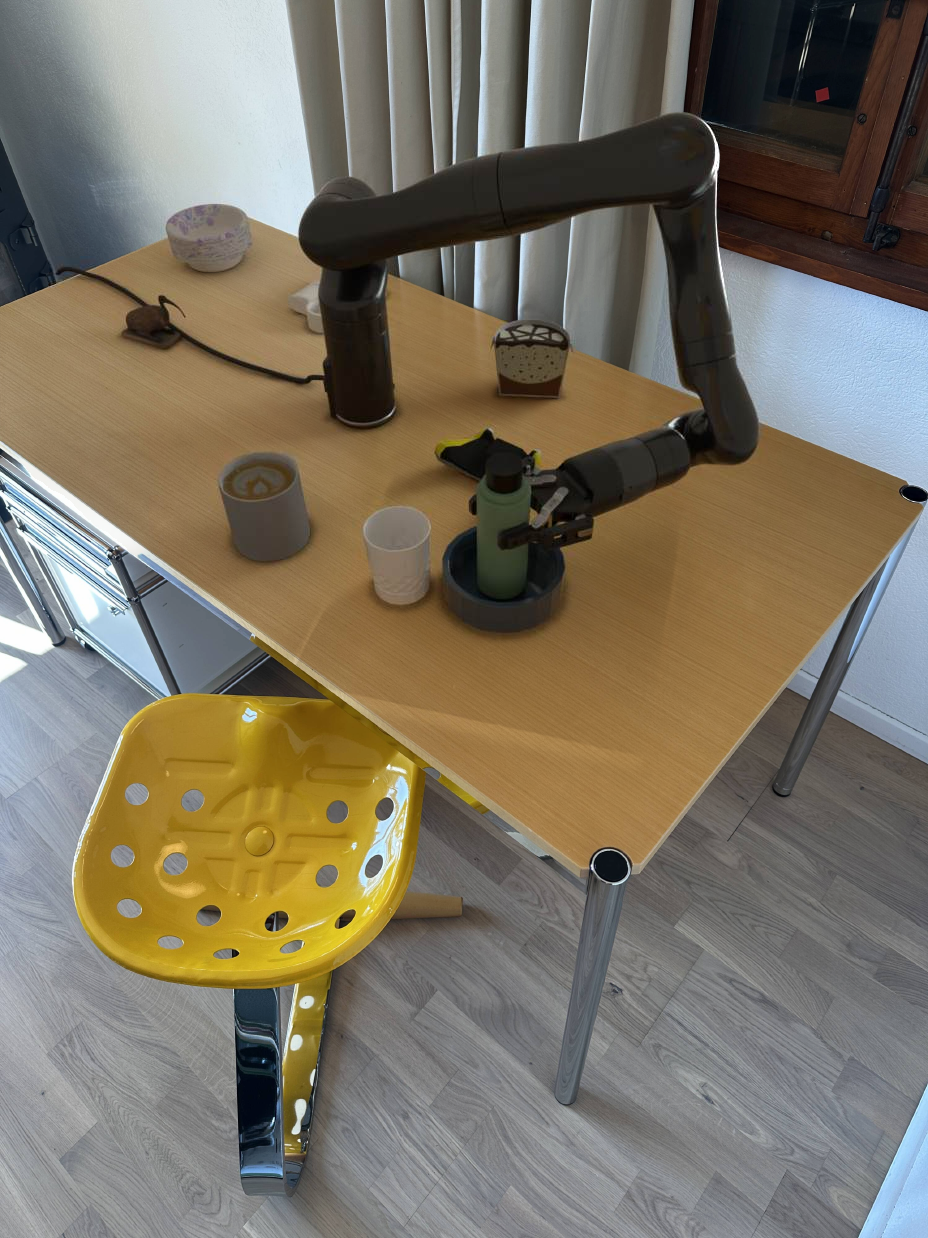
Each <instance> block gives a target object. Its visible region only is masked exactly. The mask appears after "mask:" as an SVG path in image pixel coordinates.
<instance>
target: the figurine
mask: <svg viewBox="0 0 928 1238" xmlns="http://www.w3.org/2000/svg"><path fill="white" fill-rule="evenodd" d="M157 300H158V301H157V302H158V304H159V305H158V304H157V305H156V304H148V305H149V306H144V307H143V306H141V307H137V308H135V309H132V310H130V311H129V312H127V314H126V315H125V323H126V327H127V328H126V329H124V330H122V331H121V332H120V333H121V336H122V337H124V338H127V339H129V340H133V341H136V342H140V343H144V344H147V345H151V346H153V347H157V348H160V349H163V350H168V349H169V348H171V347H172V346H173V345H175V344H176V343H177V342H179V341H180V340H182V339H184V338H183V337H182V336H181V334H180V333H179V332H176V330H173V329H170V328H166V327H168V326H167V325H168V324H169V322H170V321H171V319H170V312H169V310H168V309H167V307H166V306H165V304H168V305H170V306H173V307H174V308H176V309H178V311H179V312H180V313H181V314H182V316H183V318H186V315H185V313H184V312H183V310H182V309H181V308H180V306H178V305H177V304H176V303H175V302H174V301H172V300H170V299H169V298H167V296H166V295H163V294H159V295H158V298H157Z"/></svg>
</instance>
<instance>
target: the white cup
mask: <svg viewBox="0 0 928 1238" xmlns="http://www.w3.org/2000/svg"><path fill="white" fill-rule="evenodd" d="M431 528H432V527H431V522H430V519H429V518H428V516H427V515H426V514H425V513H423V512H422V511H420V510H419V509H416V508H414V507H411V506H405V505H393V506H387V507H384V508H383V507H382V508H381V509H378V510H377V511H375V512H373V513H371V514H370V515H369V516H368V517H367V519H365V521H364V523H363V525H362V536H363V541H364V545H365V551H366V556H367V562H368V565H369V570H370V574H371V576H372V580H373V585H374V591H375V593H376V594H377V595H378V597H379V598H380V600H381V601H384V602H387V603H388V604H391V605H399V606H404V605H409V604H412V603H416V602H418V601H419V600H421V599H422V598H424V597H425V596H426V594H427V592H428V591H429V589H430V573H431V561H432V560H431V559H432V558H431V557H432V552H431V551H432V548H431V547H432V546H431V545H432V543H431V542H432V541H431V540H432V539H431V535H432V533H431V532H432V531H431V530H432V529H431Z"/></svg>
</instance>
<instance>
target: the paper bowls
mask: <svg viewBox="0 0 928 1238" xmlns="http://www.w3.org/2000/svg"><path fill="white" fill-rule="evenodd" d="M165 232H166V235H167V239H168V243H169V247H170V249H171V253H172V255H173V256H174V257H175V258H176V259H177V260H178V261H180V262H183V263H186V264H188V266H189V267H190V268H192V269H193V270H196V271H199V272H203V273H219V272H225V271H227V270H229V269H232V268H234V267H236V266H237V265H238V264H239V263H240V262H241V261H242V259H243V257H244V254H246V253H247V252H248V251H249V250H250V249H251V247H252V245H253V236H252V231H251V226H250V222H249V217H248V214H246V212H245V211H244V210H242V209H241V208H239V207H236V206H233V205H230V204H225V203H224V204H223V203H222V204H221V203H207V204H206V203H205V204H199V205H194V206H191V207H188V208H184V209H182V210H179V211H177V212H175V213H174V214H173V215H171V216H170V217H169V218H168V219H167V221H166V224H165Z"/></svg>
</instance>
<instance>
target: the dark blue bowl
mask: <svg viewBox="0 0 928 1238" xmlns="http://www.w3.org/2000/svg"><path fill="white" fill-rule="evenodd" d="M441 566H442V568H441V569H442V583H443V584H442V585H443V588H442V589H443V598H444V600H445V602H446V604H447V606H448V608H449V611H451V612H452V613H453V614H454V615H455V616H456V617H457V618H458V619H459V620H460V621H461V622H463V623H465V624H467V625H469V626H471V627H473V628H475V629H477V630H481V631H486V632H489V633H490V632H491V633H499V634H501V633H502V634H507V633H509V634H510V633H517V632H522V631H526V630H530V629H532V628H535V627H537V626H538V625H540V624H542V623H544V622H545V621H547V620H549V618H551V616H552V615H553V614H554V613H555V612H556V610H557V609H558V607H559V606H560V604H561V600H562V597H563V594H564V584H565V575H566V561H565V557H564V552H563V551H562V549H561V548H558V549H554V550H551V551H546V550H544V549H543V545H542V544H540V543H532V542H529V543H528V560H527V579H526V586H525V588H524V590H523V591H522V592H521V593H520V594H519V595H517V596H515V597H512V598H509V599H496V598H492V597H489V596H487V595H486V594H484V593H483V592H482V591H481V590H480V588H479V587H478V584H477V525H474V526H471V527H469V528H468V529H466V530H464V531H462V532H461V533H459V534H457V536H455V537H454V538H453V539H452V540H451V542H449V544H448V545H447V546H446V549H445V551H444V553H443V555H442V558H441Z"/></svg>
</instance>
